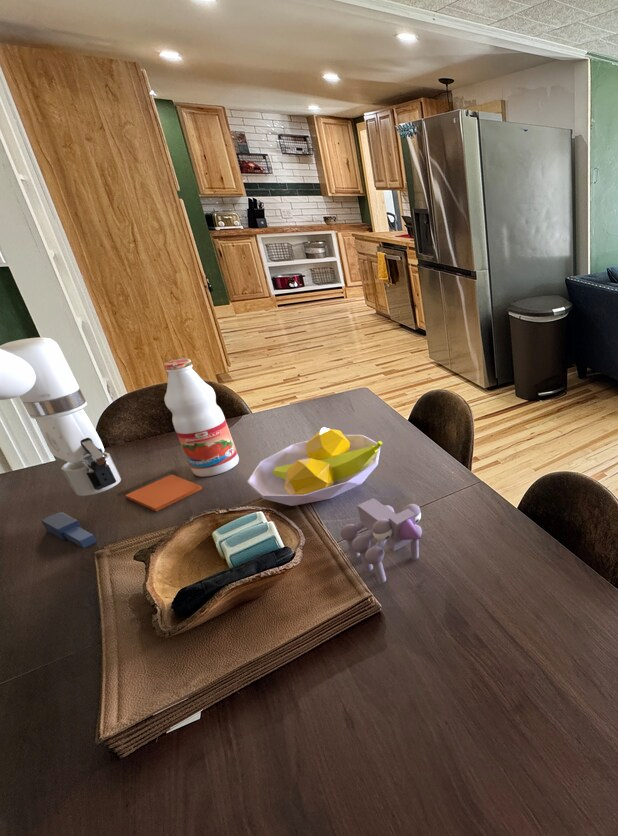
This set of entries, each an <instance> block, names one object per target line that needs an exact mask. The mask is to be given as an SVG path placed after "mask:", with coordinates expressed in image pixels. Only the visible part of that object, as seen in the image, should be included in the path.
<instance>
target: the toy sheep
mask: <svg viewBox="0 0 618 836" xmlns="http://www.w3.org/2000/svg"><path fill="white" fill-rule="evenodd" d="M357 510H358V516H359V520H360V521H358V522H357V523H347V524H345V525H344V526H343V527H341V529H340V532H339V533H340V537H341V539H342V540H343V541H346V542H347V545H348V548H349V552H350V555H351V559H353V560H354V559H357V558H359V557H360V558H361V562H362V566H363V569H364V572H366V573H368V572H371V571H373V570H374V573H375V576H376V581H377V584H380V585H381V584H384V583H386V581H387V576H386V573H385V569H384V566H383V562H382V561H383V560H384V557H385V551H384V548H385V546H387V547H388V548H390V549H391V550H392V551H393V552H395V551H397V550H399V549H401V548H403V547H404V546H406V545H408V544H410V559H411V560H418V559H420V558H419V557H420V553H419V550H420V549H419V545H420V544H419V540H422V537H421V536H422V534H423V530H422V527H421V526H420V525H418V523H419V522H420V520H421V519H422V518H421V517H422V513H421V508H420V507H419V505H417V504H415V503H409V504H407V505H405V506H404V507H403V509H402V511H400V512H398V513H396V512H395V509H394V508H393V506H391V505H387V504H386V505H385V504H383V503H382V502H380V501H378V500H377V499H376V498H375V497H373V498H371V499H368V500H366V501H364V502H361V503H359V504H358V505H357ZM364 528H365V529H367V530H368V532H367V533H366V534H361V535H359V534H360V531H361V530H363V529H364ZM373 539H375V540H377V541H376V544H375V545H374V546H371V545H372V544H371V543H372V540H373Z"/></svg>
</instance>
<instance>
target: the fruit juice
mask: <svg viewBox="0 0 618 836" xmlns="http://www.w3.org/2000/svg"><path fill="white" fill-rule="evenodd" d="M193 366H194V365H193V362H192V360H191V359H190V358H178V359H172V360H169V361H166V362H164V363H163V369H164V371H165V372H167V384H166V385H167V386H166V392H165V394H164V400H163V401H164V404H165V407H166V408H167V409H168V411H170V412H171V414H172V418H171V421H172V425H173V428H174V431H175V433H176V436H177V438H178V441H179V443H180V445H181V448H182V451H183V453H184V455H185V458H186V460H187V462H188V465H189V467H190V471H191V472H192V473H193V475H195V476H197V477H201V478H203V477H204V478H206V477H213V476H217V475H220V474H223V473H225V472H228V471H230V470H231V469H233V468H235V467H236V466H237V465H238V464H239V463H240V457H239V454H238V450H237V448H236V445H235V443H234V440H233V437H232V434H231V432H230V428H229V425H228V423H227V421H226V417H225V415H224V412H223V410H222V408H221V407H220V406H219V405H218V404H217V395H216V392H215V389H214V388H213V387H212V386H211V385H210V384H208V383H206V382H205V381H204V379H202V377H201V376H200V375H199V374H198V373H197V372H196V371H195V370H194V369H193Z"/></svg>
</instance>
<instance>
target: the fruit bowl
mask: <svg viewBox="0 0 618 836" xmlns="http://www.w3.org/2000/svg"><path fill="white" fill-rule="evenodd" d="M383 445H384V443H383V442H382V441H381V440H378V441H375V440H373V439H371V438H370V437H368V436H366V435H364V434H343V432H342V431H341V430H340V429H334V428H327V427H322V428H320V430H318V432H316V434H314V435H313V436H312V437H311V438H310V439H309V440H304V441H301V442H297V443H293V444H290V445H289V446H287V447H284V448H283V449H281V450H280V451H279V450H278V451H277V452H276V453H274V454H272V455H270V456H268V457H266V458H264V459H262V460H261V461H260V462H259V463H258V464H257V466H256V467H255V469H254V471H253V472H252V473H251V475H250V477H249V478H248V480H246V481H247V484H248V485H250V487H251V488H252V489H253V490H254V491H255V492H256V493H257V494H258V495H259V497H261V498H262V499H263V500H265V501H266V500H267V501H271V502H274V503H277V504H278V503H279V504H281V505H286V506H291V507H293V506H298V505H305V504H310V503H316V502H320V501H325V500H330V499H332V498H334V497H336V496H339V495H341V494H343V493H346V492H347V491H349V490H352V489H354V488H357V487H358V486H361V485H362V484H363V483H364V482H365V480H366V479H367V478H368V477H369V476H370V475H371V473H372V472H373V471H374V470H375V469H376V468H377V466H378V465H379V459H380V453H381V447H382V446H383Z"/></svg>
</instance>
